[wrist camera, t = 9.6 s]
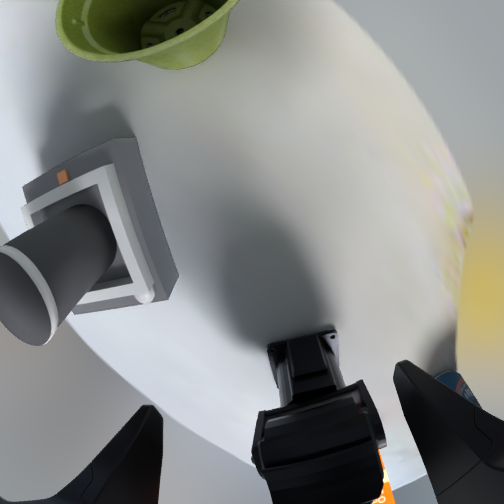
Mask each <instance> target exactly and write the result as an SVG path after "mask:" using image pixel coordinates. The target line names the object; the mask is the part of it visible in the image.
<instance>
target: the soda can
mask: <svg viewBox="0 0 504 504" xmlns="http://www.w3.org/2000/svg"><path fill="white" fill-rule="evenodd" d="M435 378H436V379H437V380H439V381H440V382H442V383H443V384H445V385H446V386H448V387H449V388H451V389H452V390H454V391H455V392H457V393H458V394H460V395H461V396H463V397H464V398H466V399H467V400H469V401H471V402H472V403H474V405H477V406H478V407H480V408H481V409H482V407H481V406H480V404H479V403H478V401H477V399H476V398H475V396H474V395H473V393H472V391H471V390H470V388H469V387H468V385H467V384H466V382H465V381H464V379H463V378H462V376H461V375H460V374H459V373H457V372H454V371H445V372H443V373H441V374H439V375H438V376H436V377H435Z"/></svg>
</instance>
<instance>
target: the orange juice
mask: <svg viewBox="0 0 504 504" xmlns="http://www.w3.org/2000/svg"><path fill="white" fill-rule="evenodd" d="M378 451H379V449H378ZM379 455H380V452H379ZM380 459H381V463H382V467H383V471H384V479H383V482H384V487H383V490H382V492H381V495H380V498H379V499H376V500H374V501H373V503H372V504H395V501H394V498H393V494H392V491H391V488H390V484H389V480H388V476H387V473H386V470H385V468H384V465H383V461H382V458H381V455H380Z"/></svg>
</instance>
